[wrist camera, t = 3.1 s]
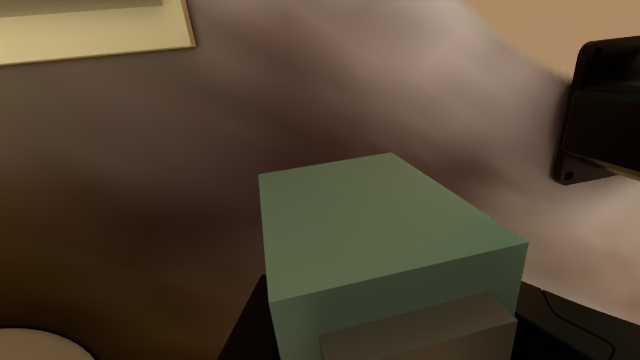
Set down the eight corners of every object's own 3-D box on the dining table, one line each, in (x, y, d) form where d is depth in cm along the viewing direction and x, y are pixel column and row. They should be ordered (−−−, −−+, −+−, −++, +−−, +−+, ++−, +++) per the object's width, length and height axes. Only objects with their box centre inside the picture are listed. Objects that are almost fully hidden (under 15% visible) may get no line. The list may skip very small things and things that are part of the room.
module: (258, 174, 9) (272, 340, 4) (391, 152, 9) (564, 266, 4) (287, 330, 11) (321, 566, 6) (392, 303, 12) (505, 496, 6)
